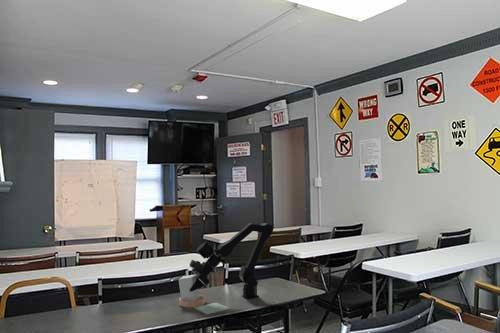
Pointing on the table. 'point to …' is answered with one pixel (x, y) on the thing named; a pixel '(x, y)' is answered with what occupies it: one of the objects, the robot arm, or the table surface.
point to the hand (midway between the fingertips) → (188, 288)
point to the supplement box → (188, 288)
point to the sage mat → (211, 308)
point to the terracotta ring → (192, 302)
